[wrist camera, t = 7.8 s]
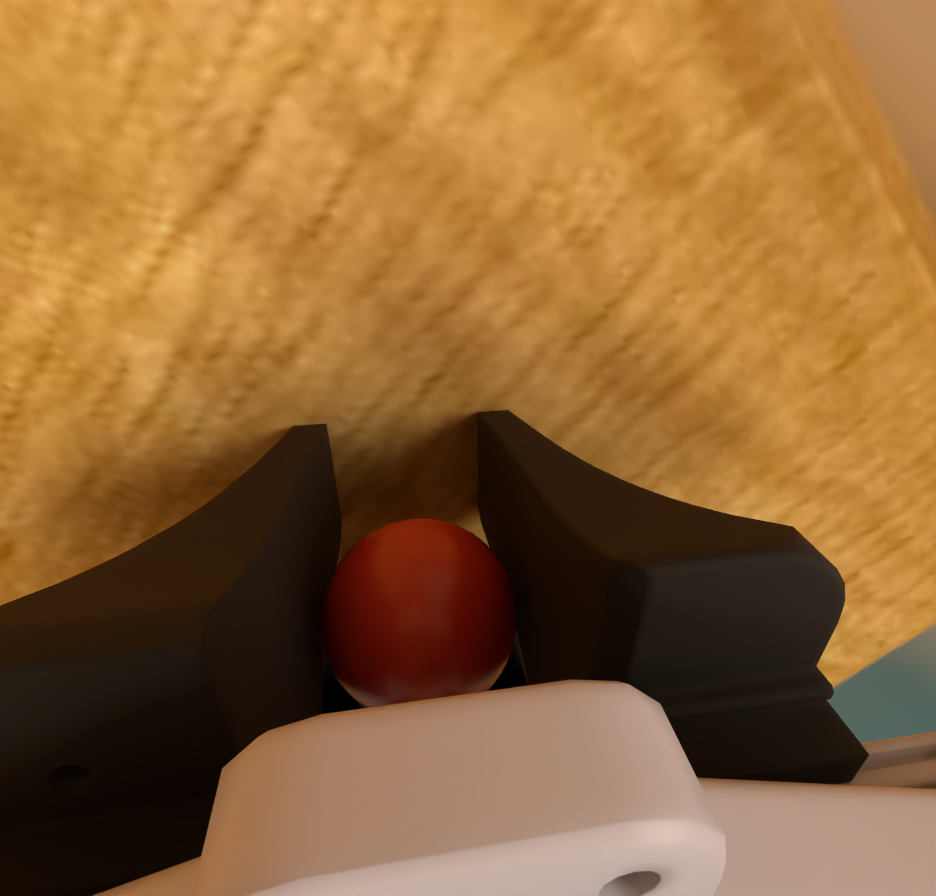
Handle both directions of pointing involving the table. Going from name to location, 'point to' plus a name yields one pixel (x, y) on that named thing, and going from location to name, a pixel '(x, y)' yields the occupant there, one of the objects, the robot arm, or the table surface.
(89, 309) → the table surface
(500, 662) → the switch lever
